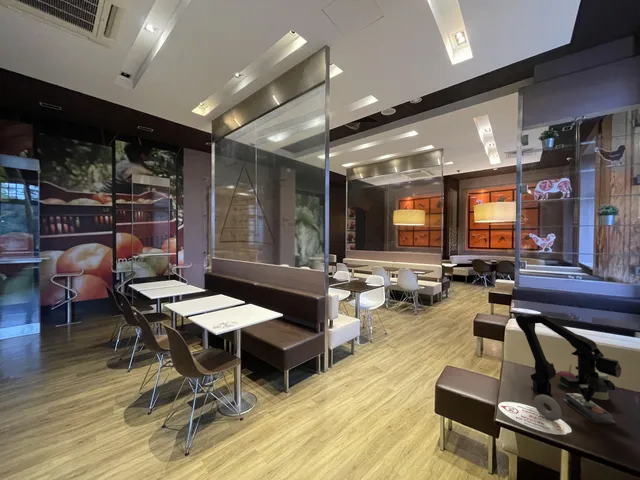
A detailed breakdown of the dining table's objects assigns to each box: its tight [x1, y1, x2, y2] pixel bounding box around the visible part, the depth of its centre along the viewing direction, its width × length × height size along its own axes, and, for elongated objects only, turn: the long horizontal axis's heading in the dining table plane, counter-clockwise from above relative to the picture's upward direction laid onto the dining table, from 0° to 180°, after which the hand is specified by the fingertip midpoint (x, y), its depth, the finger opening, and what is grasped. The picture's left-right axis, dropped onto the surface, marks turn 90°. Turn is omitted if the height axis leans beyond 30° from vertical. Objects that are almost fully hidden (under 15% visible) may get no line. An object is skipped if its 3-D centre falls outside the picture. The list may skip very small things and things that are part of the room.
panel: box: [562, 392, 617, 425], centre depth 120 cm, size 9×16×4 cm, turn 173°
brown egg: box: [592, 406, 605, 413], centre depth 115 cm, size 4×4×4 cm
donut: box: [533, 394, 563, 422], centre depth 116 cm, size 10×4×10 cm, turn 23°
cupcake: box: [555, 364, 578, 388], centre depth 142 cm, size 9×8×12 cm
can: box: [592, 368, 610, 401], centre depth 133 cm, size 9×9×12 cm
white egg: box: [573, 392, 584, 400], centre depth 125 cm, size 4×4×4 cm
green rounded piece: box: [582, 399, 594, 406], centre depth 120 cm, size 4×4×4 cm
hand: (587, 401), depth 120 cm, fingers closed, pressing on green rounded piece
